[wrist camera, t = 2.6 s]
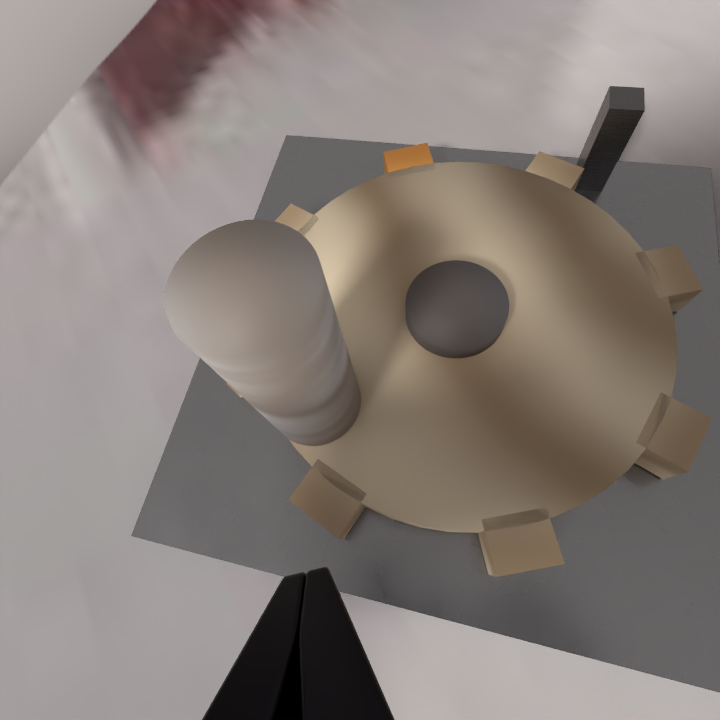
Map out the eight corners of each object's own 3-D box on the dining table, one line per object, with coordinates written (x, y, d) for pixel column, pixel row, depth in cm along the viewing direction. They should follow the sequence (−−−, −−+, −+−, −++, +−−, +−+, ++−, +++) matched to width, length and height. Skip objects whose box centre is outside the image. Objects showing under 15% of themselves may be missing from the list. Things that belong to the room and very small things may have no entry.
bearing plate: (746, 697, 13) (901, 764, 9) (139, 536, 17) (49, 531, 12) (704, 176, 20) (778, 81, 16) (288, 143, 24) (263, 57, 20)
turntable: (486, 120, 22) (530, -133, 14) (791, 383, 16) (1208, 198, 8) (183, 291, 20) (24, 109, 12) (394, 679, 14) (368, 873, 5)
